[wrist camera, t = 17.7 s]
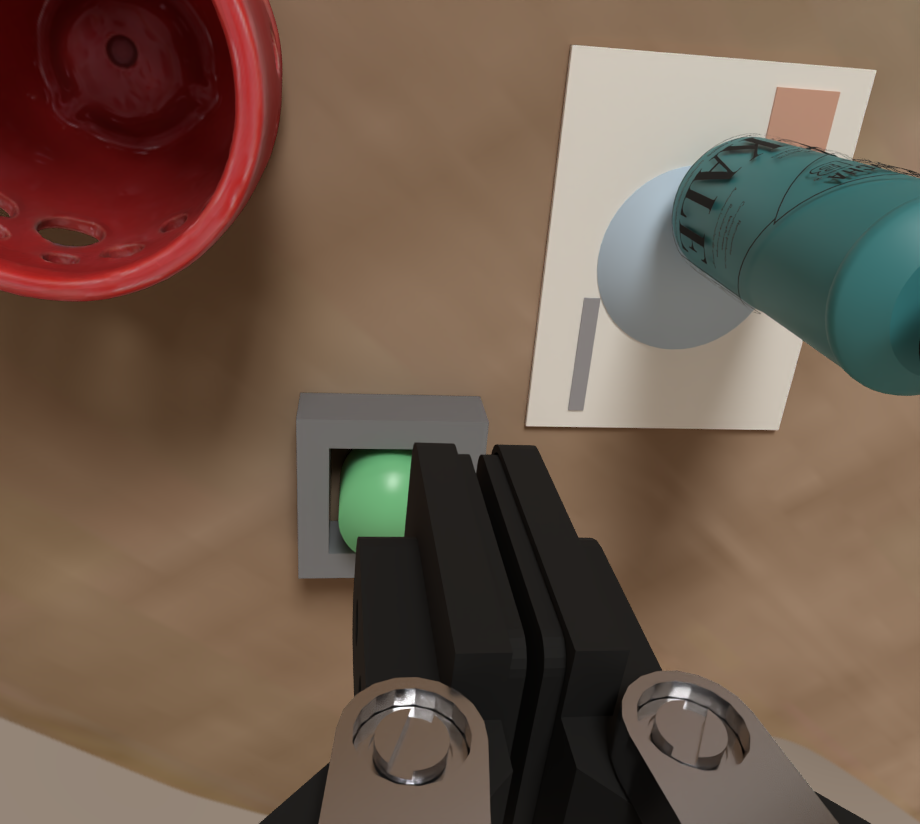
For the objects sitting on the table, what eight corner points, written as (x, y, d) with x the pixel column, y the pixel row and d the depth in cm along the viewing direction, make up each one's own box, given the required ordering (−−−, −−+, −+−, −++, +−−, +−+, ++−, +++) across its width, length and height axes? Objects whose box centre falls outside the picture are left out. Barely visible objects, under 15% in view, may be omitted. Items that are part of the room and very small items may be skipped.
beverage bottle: (792, 247, 38) (1172, 435, 21) (660, 284, 38) (925, 503, 21) (784, 109, 36) (1218, 185, 18) (642, 149, 36) (930, 266, 18)
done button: (339, 518, 42) (337, 563, 38) (340, 434, 40) (338, 473, 36) (433, 518, 43) (440, 562, 39) (439, 435, 40) (447, 474, 37)
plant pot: (-41, -182, 28) (-287, -314, 18) (325, -67, 31) (307, -120, 20) (-45, 183, 33) (-236, 254, 23) (270, 254, 36) (234, 347, 25)
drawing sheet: (524, 423, 41) (526, 426, 41) (570, 45, 34) (573, 44, 33) (775, 427, 43) (779, 431, 43) (872, 69, 36) (877, 70, 35)
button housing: (302, 544, 43) (298, 578, 40) (300, 392, 39) (296, 419, 36) (466, 543, 44) (473, 576, 41) (479, 396, 40) (488, 422, 38)
